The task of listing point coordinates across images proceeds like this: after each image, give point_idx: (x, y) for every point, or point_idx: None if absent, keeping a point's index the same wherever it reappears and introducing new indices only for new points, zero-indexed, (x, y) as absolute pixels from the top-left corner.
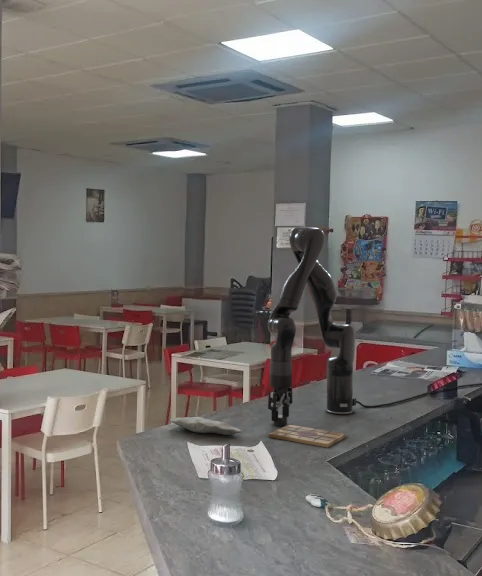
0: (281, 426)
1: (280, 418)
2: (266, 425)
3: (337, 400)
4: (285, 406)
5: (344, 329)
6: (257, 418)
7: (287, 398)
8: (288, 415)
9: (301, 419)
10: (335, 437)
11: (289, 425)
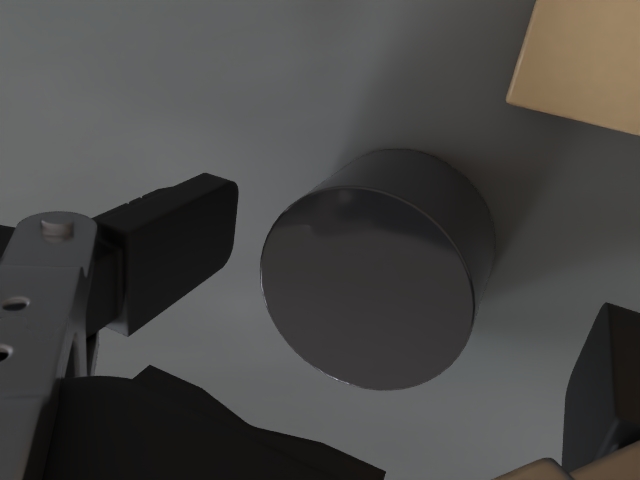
0: (488, 214)
1: (472, 278)
2: (479, 397)
3: None
4: (118, 285)
5: None
6: None
7: (59, 353)
8: (213, 180)
9: (26, 37)
10: None
11: (589, 78)
